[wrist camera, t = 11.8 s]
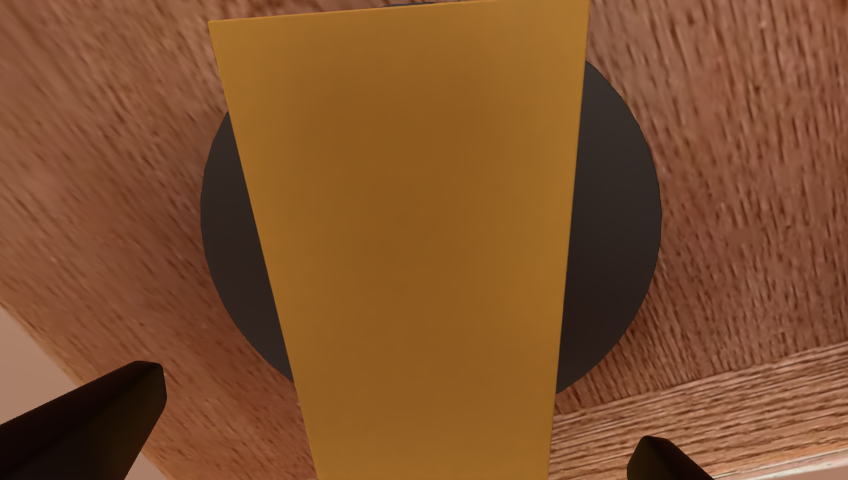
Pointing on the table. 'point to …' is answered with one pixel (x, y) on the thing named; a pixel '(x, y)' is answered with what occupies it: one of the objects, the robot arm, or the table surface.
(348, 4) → the table surface
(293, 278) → the book
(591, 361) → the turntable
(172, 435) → the table surface
